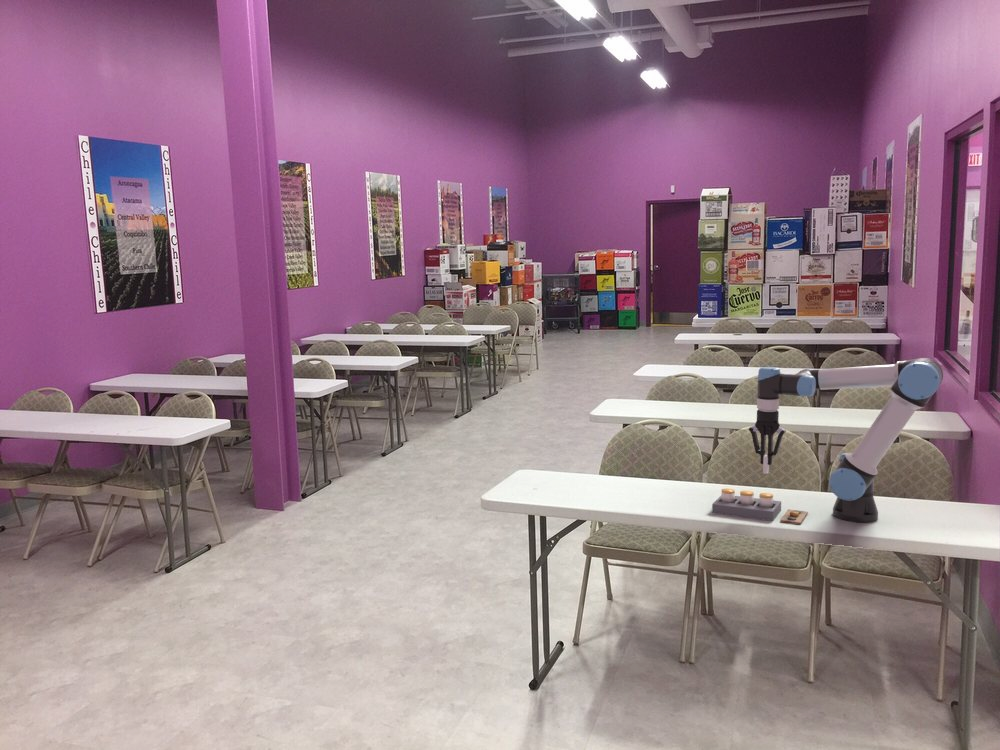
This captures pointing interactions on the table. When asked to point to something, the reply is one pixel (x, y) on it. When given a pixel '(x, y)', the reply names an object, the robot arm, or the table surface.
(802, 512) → the card
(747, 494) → the button mid
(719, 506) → the button board
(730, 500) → the button
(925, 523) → the table surface
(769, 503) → the button
